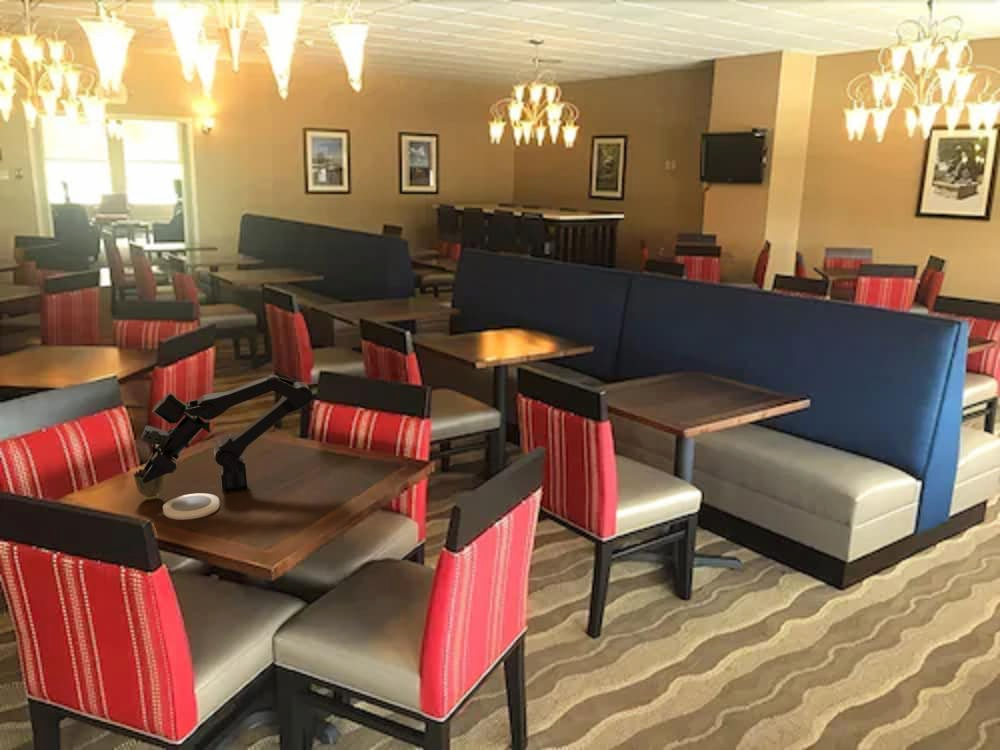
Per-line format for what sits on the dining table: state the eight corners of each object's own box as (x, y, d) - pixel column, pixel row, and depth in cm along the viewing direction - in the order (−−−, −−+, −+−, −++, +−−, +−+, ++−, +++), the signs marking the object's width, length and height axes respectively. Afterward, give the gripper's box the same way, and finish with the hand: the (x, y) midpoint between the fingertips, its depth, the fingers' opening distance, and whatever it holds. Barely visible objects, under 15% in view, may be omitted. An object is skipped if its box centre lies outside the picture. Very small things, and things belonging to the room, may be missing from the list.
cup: (166, 492, 225) (163, 465, 223) (166, 502, 219) (163, 474, 217) (137, 496, 223) (134, 469, 221) (136, 506, 216) (132, 478, 214)
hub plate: (218, 495, 223) (217, 489, 223) (221, 514, 211) (220, 508, 210) (163, 502, 218) (162, 497, 218) (163, 523, 206) (162, 517, 205)
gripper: (158, 407, 225) (119, 449, 223) (158, 425, 208) (116, 471, 207) (191, 430, 230) (153, 472, 228) (193, 450, 213) (152, 495, 211)
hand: (143, 477), depth 219 cm, fingers closed on cup, 7 cm apart
